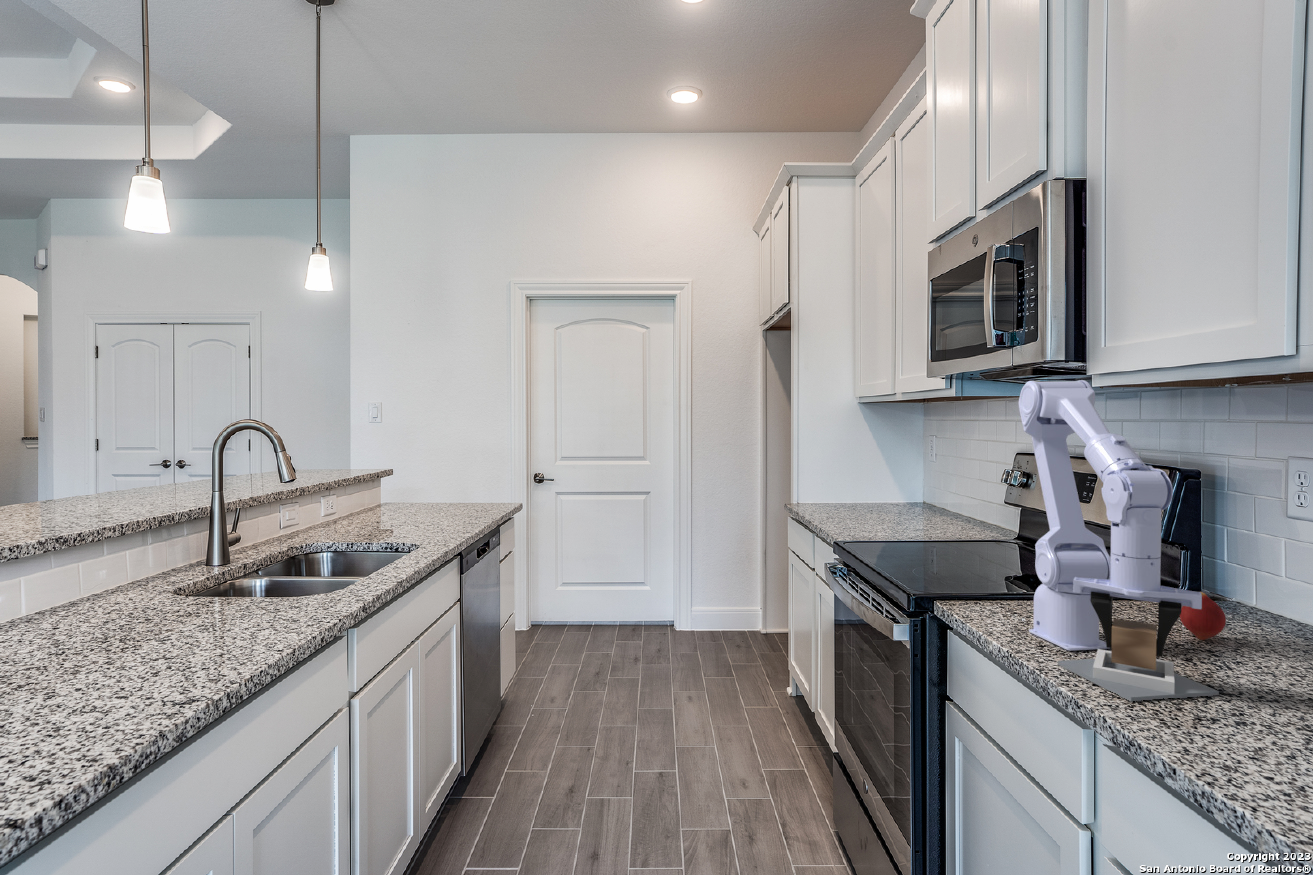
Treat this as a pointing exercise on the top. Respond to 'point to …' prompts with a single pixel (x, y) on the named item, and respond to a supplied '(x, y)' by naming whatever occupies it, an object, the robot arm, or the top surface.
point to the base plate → (1137, 691)
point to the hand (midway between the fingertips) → (1133, 650)
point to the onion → (1204, 619)
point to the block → (1134, 643)
